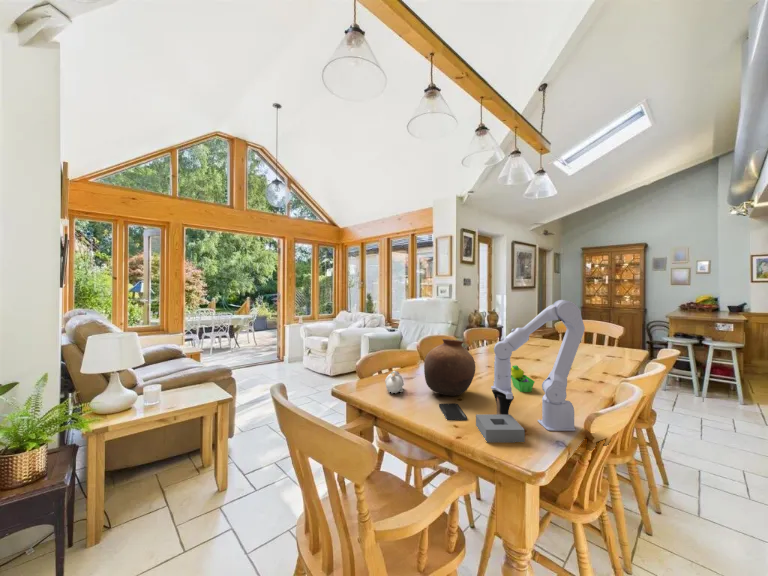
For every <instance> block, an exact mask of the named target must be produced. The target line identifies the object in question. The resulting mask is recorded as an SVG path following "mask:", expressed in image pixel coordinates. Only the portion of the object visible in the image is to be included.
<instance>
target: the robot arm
mask: <svg viewBox="0 0 768 576" xmlns="http://www.w3.org/2000/svg"><path fill="white" fill-rule="evenodd" d="M559 319H560V321H561V322H562V324H563V325H564V326H565V329H566V330H565V333H564V336H563V338H562V342H561V345H560V347H559V350H558V353H557V355H556V359H555V361H554V363H553V367H552V369H551V370H550V372H549V373H548V376H547V378H545V379H544V380H543V382H542V383H541V388H542V391H543V392H544V395H543V396H542V398H541V403H542V405H541V415H542V416H541V417H542V418H541V419H537V420H536V421H537V422H538V423H539V424H540V425H541V426H543V428H544V429H545V430H546V431H549V432H550V431H554V432H555V431H556V432H558V431H559V432H560V431H564V432H566V431H567V432H575V431H576V430H577V429H576V428H575V407H574V405H573V403H572V402H571V401H569V400H567V399H566V398H567V387H568V376H569V375H570V371H571V368H572V365H573V363H574V360H575V357H576V355H577V352H578V349H579V347H580V344H581V341H582V339H583V335H584V333H585V330H586V329H585V324H584V321H583V317H582V311H581V309H580V308H579V307H578V305H576V303H574V302H573V301H571V300H565V299H559V300H555V302H553V304H550V305H549V306H547V307H545V308H544V309H542V311H541V312H539V313H538V314H537V315H536V316H535V317H534V318H533V319H531V320H530V321H529V322H528V323H527V324H525V325H524V326H522V327H516V328H512V329H511V330H510V331H511V332H510V333H509V334H507V335H506V336H504V337H501V338H500V340H499V341H498V342H496V343H495V345H494V347H493V352H494V362H493V363H494V366H493V368H494V370H493V371H494V375H493V379H494V380H493V385H491V386H490V388H491V392H492V395H493V396H494V399H495V404H496V405H497V397H498V400H499V404H500V411H501V414H506V415H507V414H508V411H510V408H511V404H512V402H513V401H514V399H515V396H514V394H513V391H512V379H511V375H512V371H511V368H512V363H511V356H512V355H513V352H515V351H517V350H518V349H519V348H521V347H522V346H523V345H525V344H526V343H527V342H528V341H529V340H530V335H531V334H532V333H534V332H535V331H536V330H538V329H539V328H541V327H542V326H543V325H545V324H547V322H551V321H559Z"/></svg>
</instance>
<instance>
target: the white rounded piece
mask: <svg viewBox="0 0 768 576" xmlns="http://www.w3.org/2000/svg"><path fill="white" fill-rule="evenodd" d="M384 383H385V388H386V390H387V391H388V392H389V393H390V392H391V393H390V394H393V393H395V394H397V393H399V392H402V393H403V392H404V389H403V386H404V385H405V384H404V379H403V377H402V375H401V374H400V372H399V371H398V370H397V371H396V370H393V371H392V372H390V373H389V374H388V375H387V376H386V378H385V380H384Z"/></svg>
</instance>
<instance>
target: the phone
mask: <svg viewBox="0 0 768 576" xmlns="http://www.w3.org/2000/svg"><path fill="white" fill-rule="evenodd" d="M438 408H439V409H440V411H441V413H442V414H444V415H443V416H445V417H444V418H445V420H446V419H447V420H446V421H448V420H459V421H467V420H468V416H467V415H466V414H465V412H464V411H463V409H462V408H461V407H460V404H458V403H456V402H455V403H449V402H448V403H438Z"/></svg>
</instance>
